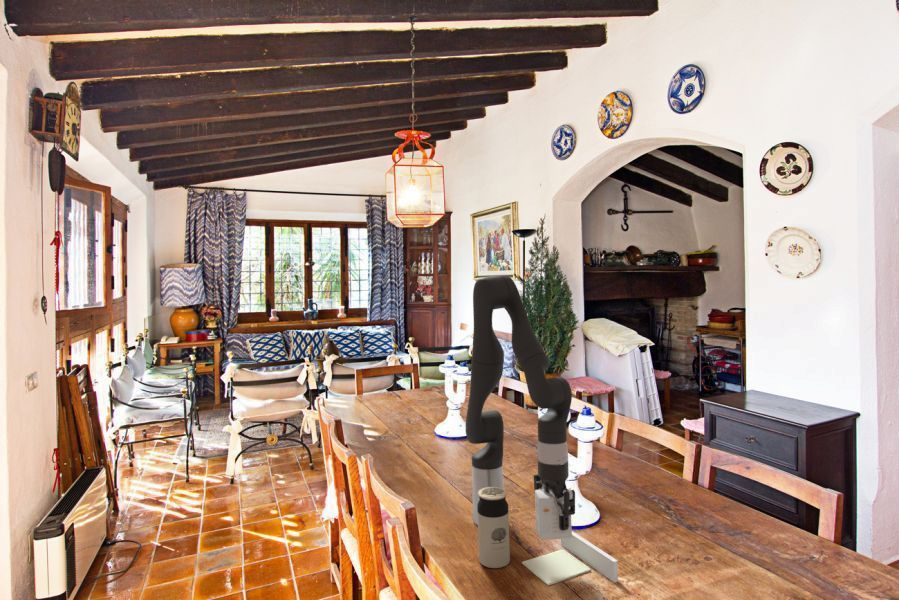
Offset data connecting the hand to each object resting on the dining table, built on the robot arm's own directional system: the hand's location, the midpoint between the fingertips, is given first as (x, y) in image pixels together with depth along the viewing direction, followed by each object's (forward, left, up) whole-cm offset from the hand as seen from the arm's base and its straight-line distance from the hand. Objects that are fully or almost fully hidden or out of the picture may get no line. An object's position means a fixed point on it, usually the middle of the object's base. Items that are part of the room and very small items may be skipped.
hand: (554, 523), depth 129 cm
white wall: (+2, +9, -11) cm, 14 cm away
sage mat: (0, 0, -11) cm, 11 cm away
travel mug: (-10, -12, -12) cm, 19 cm away
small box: (0, 0, -3) cm, 3 cm away
